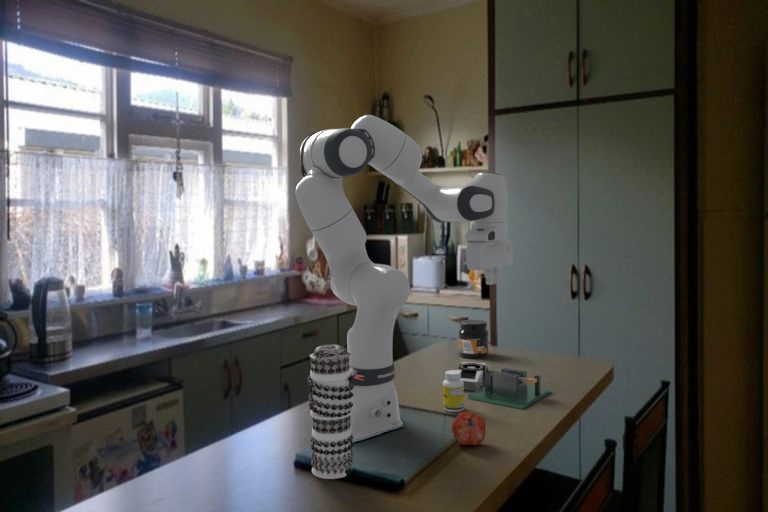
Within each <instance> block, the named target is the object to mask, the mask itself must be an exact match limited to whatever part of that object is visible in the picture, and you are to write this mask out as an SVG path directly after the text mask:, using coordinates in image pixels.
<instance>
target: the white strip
mask: <svg viewBox="0 0 768 512" xmlns="http://www.w3.org/2000/svg"><path fill="white" fill-rule="evenodd" d="M491 374H492V373H491ZM492 375H493V374H492ZM519 382H526V383H527V384H535V382H537V378H534V377H528V376H527V377H519Z"/></svg>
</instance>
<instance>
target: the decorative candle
mask: <svg viewBox="0 0 768 512" xmlns="http://www.w3.org/2000/svg"><path fill="white" fill-rule="evenodd" d="M350 355H351V354H350V353H349V352H347V348H345V346H343V345H340V344H323V345H319V346H317V347H316V348H315V349H314V351H313V353H310V354H309V357H310V367H311V369H310V371H309V373H310V374H309V375H308V376H307V377H308V378H307V379H306V382H307V383H308V385H307V391H308V392H309V395H308V396H307V397H308V400H309V404H308V406H309V410H310V412H309V415H310V416H311V417H312V427H311V436H310V442H311V445H310V449H311V450H312V451H311V453H310V457H311V462H310V463H311V467H312V468H311V474H313V476H315V477H317V478H319V479H324V480H336V479H340V478H342V479H343V478H345V477H347V476H346V475H347V474H346V473H345V471H346V470H348V469H349V466H350V467H351V466H352V465H353V464H354V462H355V461H354V455H355V453H354V449H353V447H354V442H352V439H353V435H352V429H351V425H350V415H351V414H352V409H351V407H352V406H353V403H352V402H350V401H349V399H350V398H352V397H353V393H352V392H350V391H351V390H352V389H353V388H354V386H353V385H351V383H350V384H349V381H351V380H352V379H354V376H353V375H351V374H350V368H349V356H350ZM353 466H354V465H353Z"/></svg>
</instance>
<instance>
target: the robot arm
mask: <svg viewBox="0 0 768 512" xmlns="http://www.w3.org/2000/svg"><path fill="white" fill-rule="evenodd" d="M299 160H300V165H301V168H300V169H301V175H302V177H303V178H302V179H301V180H300V181H299V182H298V183H297V185H296V188H295V195H294V196H295V197H296V201H297V204H298V206H299V207H298V208H299V209H300V212H301V215H302V217H303V218H304V221H305V223H306V225H307V227H308V229H309V230H310V232H311V234H312V235H313V237H314V240H315V241H316V242H317V244H318V246H319V248H320V249H321V252H322V253H323V255H324V257H325V259H326V262H327V265H328V268H329V272H330V275H331V276H330V288H331V291H332V292H333V294H334V296H336V298H338V299H339V300H340V301H343V302H344V303H346V304H348V305H350V306H355V307H356V309H357V310H356V315H355V319H354V322H353V325H352V326H351V327H350V328H349V329H348V331H347V334H346V343H347V345H346V346H347V347H346V351H347V352H349V353H350V354H351V355H350V356H349V368H350V374H351V375H353V376H354V379H352V380H351V381H349V384H350V383H351V385H353V386H354V388H353V389H352V390H351V391H350V392H352V393H353V397H352V398H350V399H349V401H350V402H352V403H353V406H352V407H351V409H352V414H351V415H350V425H351V429H352V435H353V439H357V438H362V437H365V436H368V435H371V434H374V433H376V432H380V431H382V430H386V429H389V428H392V427H395V426H399V425H402V424H403V425H404V422H403V421H402V420H401V416H400V414H401V413H400V407H399V406H400V405H399V399H398V398H399V396H398V392H397V389H396V386H395V382H394V379H395V377H396V376H395V374H396V368H395V363H394V362H393V360H394V359H393V344H394V343H393V337H394V328H395V324H396V320H397V317H398V314H399V311H400V309H402V307H403V306H405V304H406V303H407V302H408V299H409V297H410V293H411V285H410V284H411V283H410V281H409V279H408V277H407V275H406V274H405V273H404V272H402V271H401V270H399V269H397V268H395V267H393V266H391V265H389V264H382V263H374V262H373V261H372V260H371V259H370V258H369V256H368V252H367V249H366V243H367V233H366V230H365V229H364V226H363V225H362V223H361V222H360V220H359V218H358V216H357V214H356V212H355V210H354V208H353V207H352V205H351V203H350V201H349V199H348V198H347V197H346V195H345V191H344V186H343V185H344V184H343V178H347V177H348V178H349V177H353V176H355V175H358V174H359V173H360V172H362V171H363V170H364V169H365V168H366V167H367V166H368V165H369V166H371V167H372V168H373V169H375V170H376V171H377V172H379V173H381V174H383V176H385V177H387V178H388V179H390V180H391V181H393V182H394V183H395V184H396V185H397V186H398V187H400V188H401V189H402V190H403V191H404V192H406V193H407V194H408V195H410V196H411V197H413V199H414V200H416V201H418V202H419V204H421V205H422V207H423V208H424V210H425V211H426V213H427V215H428V216H429V218H431V219H432V220H433V221H434V222H436V223H440V224H446V223H469V222H473V223H474V226H473V227H472V228H470V230H469V231H467V232H466V233H465V237H464V239H465V241H466V242H467V243H466V247H465V254H466V255H465V259H466V260H465V261H466V266H467V269H468V271H482V272H483V274H484V278H485V284H486V285H489V286H492V285H496V284H497V282H498V279H497V278H498V275H499V273H500V267H505V266H511V265H512V264H513V262H514V247H513V241H512V240H511V238H510V235H509V234H508V233H509V232H508V231H509V229H508V228H509V227H508V226H509V222H508V218H507V209H508V203H509V202H508V187H507V182H506V178H505V177H504V176H503V175H502V174H500V173H498V172H497V173H496V172H491V171H490V172H488V171H482V172H479V173H477V174H476V175H475V176H474V178H472V179H471V180H470V181H467V182H464V183H463V184H459V185H450V186H448V185H447V186H446V185H439V184H437V183H434V182H432V180H431V179H430V178H428V176H425V175H424V174H423V173H422V172H421V171H419V170H420V167H421V165H422V162H423V152H422V149H421V147H420V145H419V144H418V143H417V142H416V141H415V140H414V139H413V138H412V137H410V136H409V135H408V134H407V133H405V132H404V131H402V130H401V129H400V128H398V127H397V126H395V125H394V124H391V123H389V122H388V121H386V120H384V119H382V118H380V117H378V116H375V115H373V114H365V115H363V116H361V117H358V119H356V120H355V121H354V123H353V124H352V125H351V127H342V128H328V129H324V130H321V131H316V132H313V133H311V134H310V135H308V136H307V137H306V138H305V139H304V140H303V141H302V143H301V145H300V148H299ZM392 423H394V424H397V425H392ZM370 432H371V433H370Z"/></svg>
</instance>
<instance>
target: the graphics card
mask: <svg viewBox="0 0 768 512" xmlns="http://www.w3.org/2000/svg"><path fill="white" fill-rule="evenodd" d="M457 371H460V372H461V378H460V379H461V380H462V381H463V383H464V391H472V392H475V391H477V390H479V389H481V388H482V387H483V386H484V385H483V384H484V382H485V374H488V373H487V372H488V371H489V366H488V365H487V363H486V362H475V361H471V362H469V361H462V362H461V363H460V364H459V366H458V368H457Z"/></svg>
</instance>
